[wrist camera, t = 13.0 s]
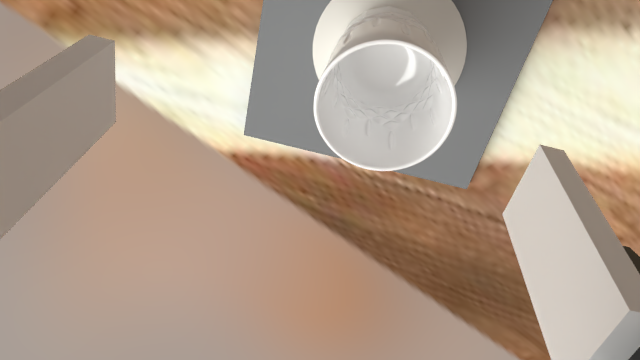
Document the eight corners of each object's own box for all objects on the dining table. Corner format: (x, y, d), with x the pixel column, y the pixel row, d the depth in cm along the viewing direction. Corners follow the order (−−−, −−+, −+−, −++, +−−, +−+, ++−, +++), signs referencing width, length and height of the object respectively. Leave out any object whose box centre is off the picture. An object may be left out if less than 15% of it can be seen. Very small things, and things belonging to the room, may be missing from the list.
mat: (246, 130, 42) (243, 135, 41) (284, -131, 32) (281, -131, 31) (465, 183, 42) (467, 190, 42) (574, -57, 32) (579, -55, 31)
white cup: (308, 56, 37) (285, 113, 29) (383, -30, 33) (381, 7, 25) (386, 123, 39) (385, 194, 31) (464, 49, 35) (488, 107, 27)
